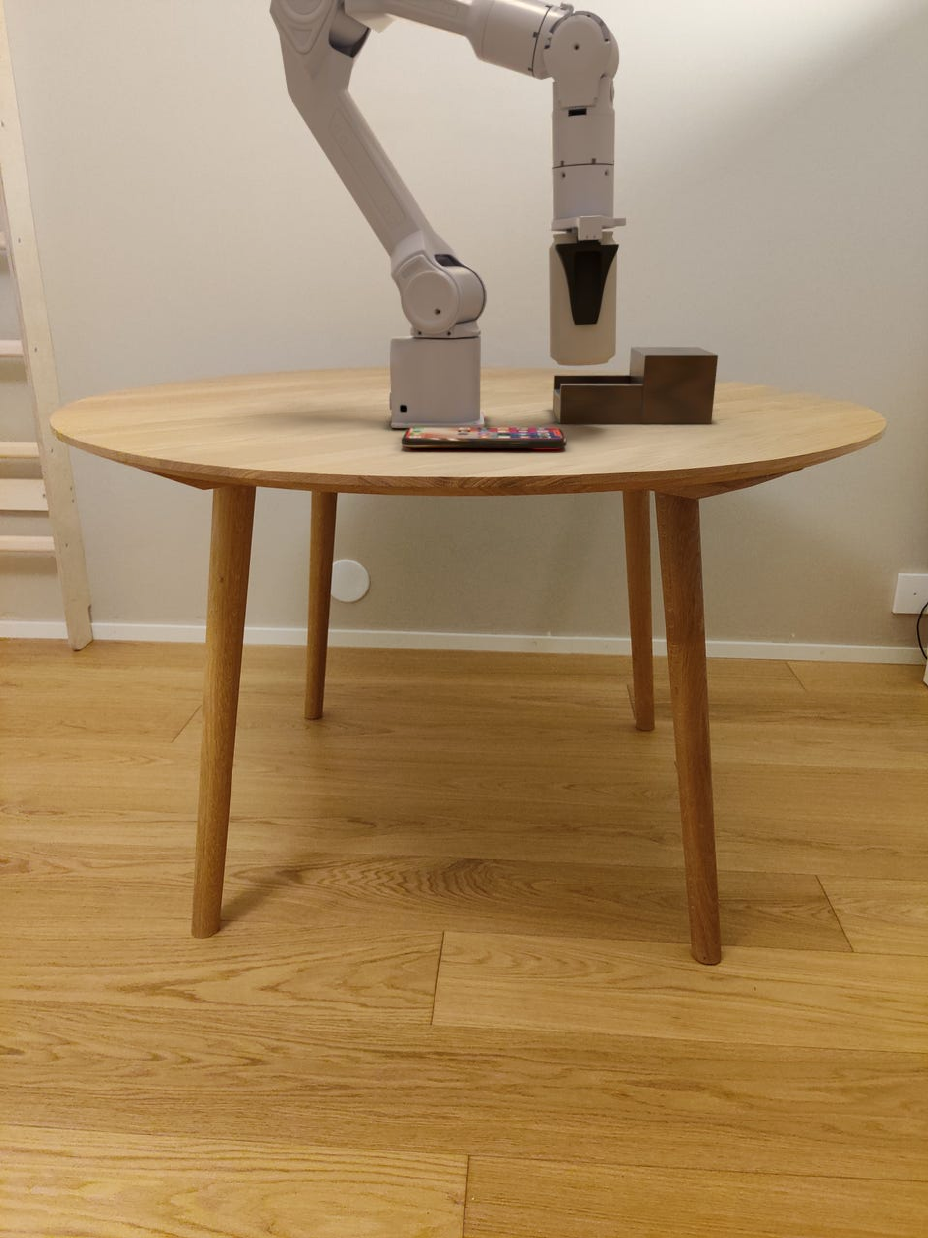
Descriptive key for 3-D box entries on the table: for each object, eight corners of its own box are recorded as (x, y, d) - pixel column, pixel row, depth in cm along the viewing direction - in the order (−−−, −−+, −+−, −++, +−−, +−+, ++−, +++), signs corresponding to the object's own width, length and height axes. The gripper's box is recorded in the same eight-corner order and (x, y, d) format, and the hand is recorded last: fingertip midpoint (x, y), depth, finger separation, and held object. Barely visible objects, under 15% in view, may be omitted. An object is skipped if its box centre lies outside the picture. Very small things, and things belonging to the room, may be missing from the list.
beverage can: (620, 359, 93) (623, 230, 88) (608, 366, 87) (609, 228, 83) (559, 360, 95) (558, 234, 91) (542, 366, 89) (541, 232, 85)
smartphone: (406, 426, 90) (561, 426, 89) (406, 436, 90) (560, 436, 90) (400, 439, 83) (567, 439, 82) (400, 449, 83) (567, 450, 83)
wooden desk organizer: (559, 423, 97) (562, 354, 95) (552, 410, 105) (554, 346, 103) (711, 423, 97) (718, 355, 94) (692, 410, 105) (698, 347, 103)
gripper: (638, 156, 78) (634, 324, 83) (615, 173, 91) (613, 317, 96) (555, 160, 78) (556, 328, 83) (544, 176, 92) (546, 320, 96)
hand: (582, 322), depth 90 cm, fingers closed on beverage can, 6 cm apart
